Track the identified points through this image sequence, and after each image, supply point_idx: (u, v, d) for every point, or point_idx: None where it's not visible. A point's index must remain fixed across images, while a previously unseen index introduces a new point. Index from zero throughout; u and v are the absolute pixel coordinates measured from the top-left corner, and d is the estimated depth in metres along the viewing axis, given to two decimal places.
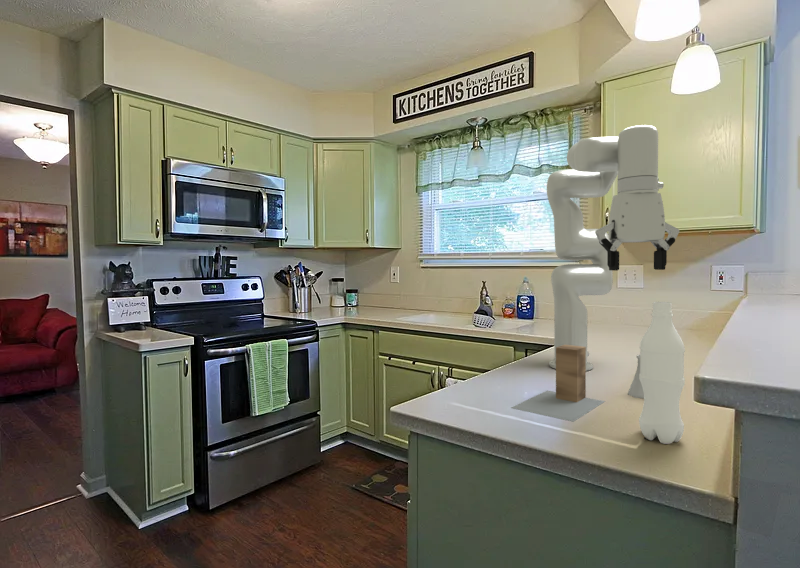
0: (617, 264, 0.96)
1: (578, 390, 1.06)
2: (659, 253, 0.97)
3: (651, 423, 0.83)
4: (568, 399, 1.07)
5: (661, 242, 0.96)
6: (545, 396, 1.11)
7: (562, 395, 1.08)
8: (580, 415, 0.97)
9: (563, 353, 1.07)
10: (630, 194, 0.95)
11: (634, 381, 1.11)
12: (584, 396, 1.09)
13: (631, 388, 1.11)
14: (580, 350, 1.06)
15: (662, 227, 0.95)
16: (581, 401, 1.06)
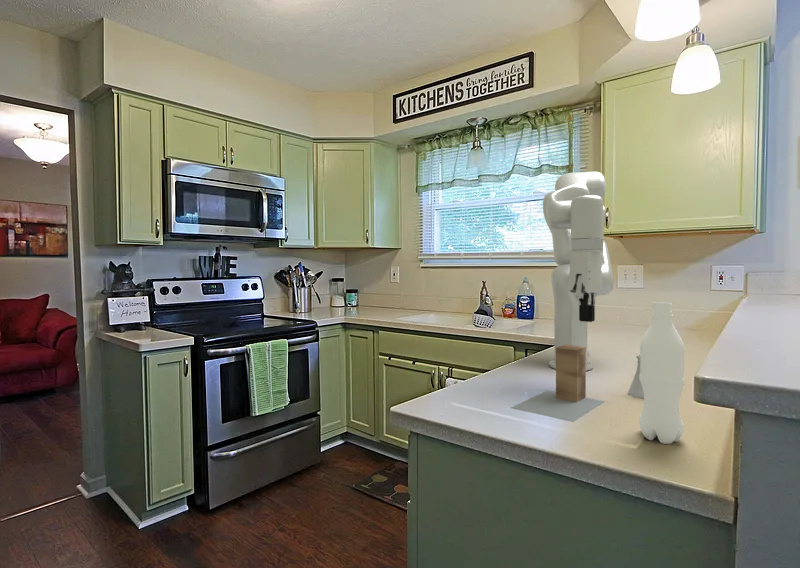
0: (592, 316, 1.13)
1: (578, 390, 1.06)
2: None
3: (651, 423, 0.83)
4: (568, 399, 1.07)
5: (594, 296, 1.15)
6: (545, 396, 1.11)
7: (562, 395, 1.08)
8: (580, 415, 0.97)
9: (563, 353, 1.07)
10: (592, 252, 1.11)
11: (634, 381, 1.11)
12: (584, 396, 1.09)
13: (631, 388, 1.11)
14: (580, 350, 1.06)
15: (601, 280, 1.16)
16: (581, 401, 1.06)
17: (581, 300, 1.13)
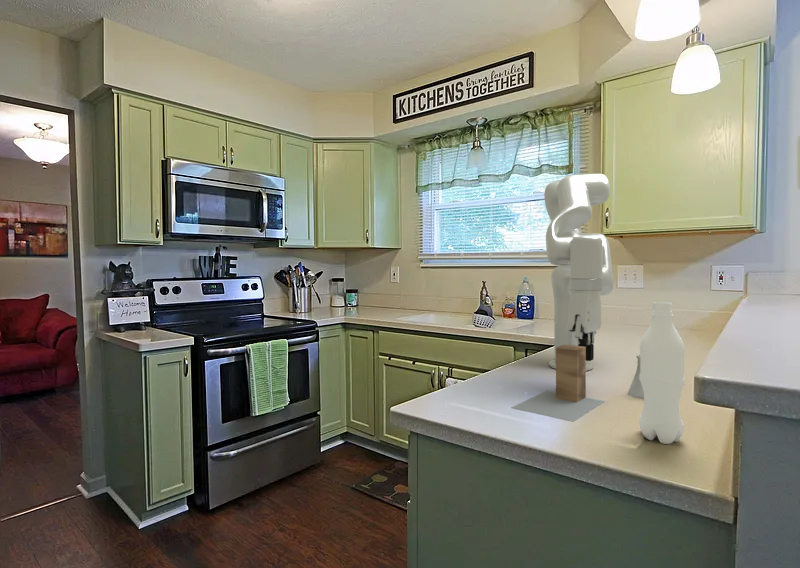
0: (591, 356, 1.14)
1: (578, 390, 1.06)
2: None
3: (651, 423, 0.83)
4: (568, 399, 1.07)
5: (593, 335, 1.15)
6: (545, 396, 1.11)
7: (562, 395, 1.08)
8: (580, 415, 0.97)
9: (563, 353, 1.07)
10: (591, 293, 1.11)
11: (634, 381, 1.11)
12: (584, 396, 1.09)
13: (631, 388, 1.11)
14: (580, 350, 1.06)
15: (600, 319, 1.16)
16: (581, 401, 1.06)
17: (580, 340, 1.13)
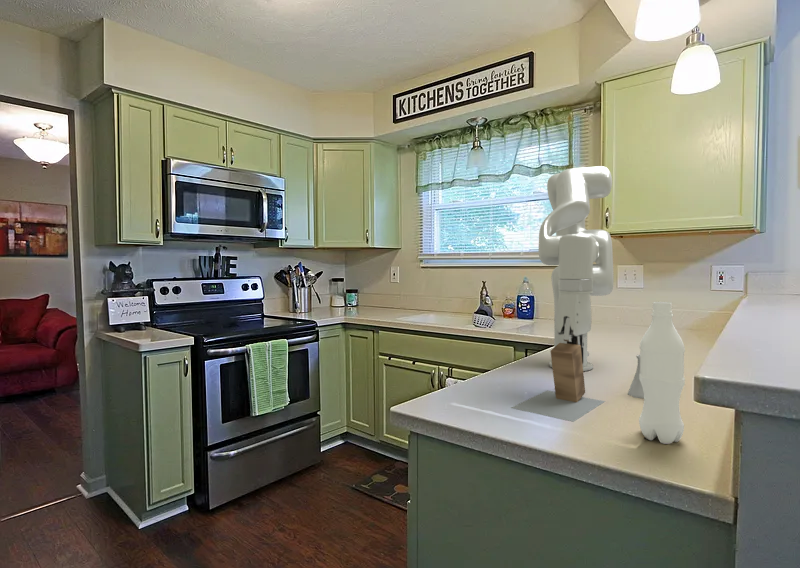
0: None
1: (577, 390, 1.06)
2: None
3: (651, 423, 0.83)
4: (568, 399, 1.07)
5: (583, 338, 1.10)
6: (545, 396, 1.11)
7: (562, 395, 1.08)
8: (580, 415, 0.97)
9: (558, 356, 1.05)
10: (580, 294, 1.06)
11: (634, 381, 1.11)
12: (584, 392, 1.09)
13: (631, 388, 1.11)
14: (575, 351, 1.04)
15: None
16: (581, 401, 1.06)
17: (569, 343, 1.09)
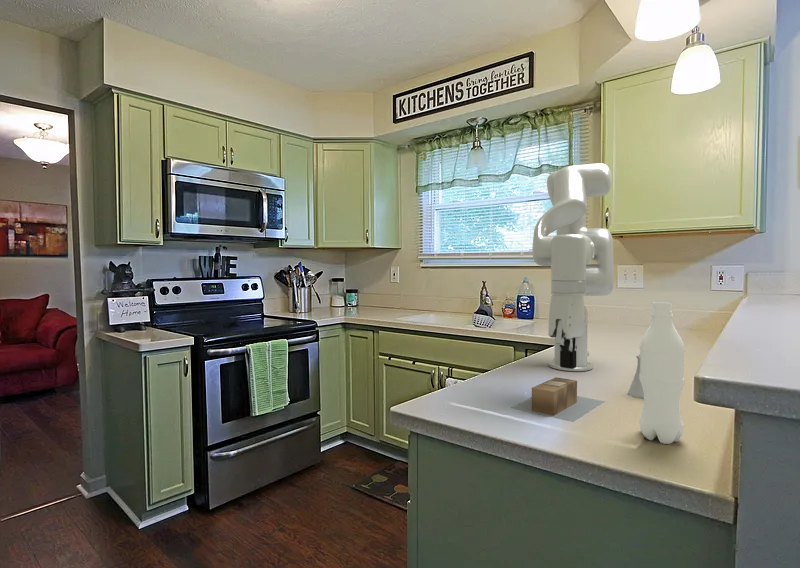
0: (574, 363, 1.06)
1: (572, 401, 1.04)
2: None
3: (651, 423, 0.83)
4: None
5: (576, 341, 1.07)
6: None
7: None
8: (580, 415, 0.97)
9: None
10: (573, 296, 1.03)
11: (634, 381, 1.11)
12: (576, 383, 1.05)
13: (631, 388, 1.11)
14: (554, 406, 0.97)
15: (584, 323, 1.09)
16: (581, 401, 1.06)
17: (562, 346, 1.06)
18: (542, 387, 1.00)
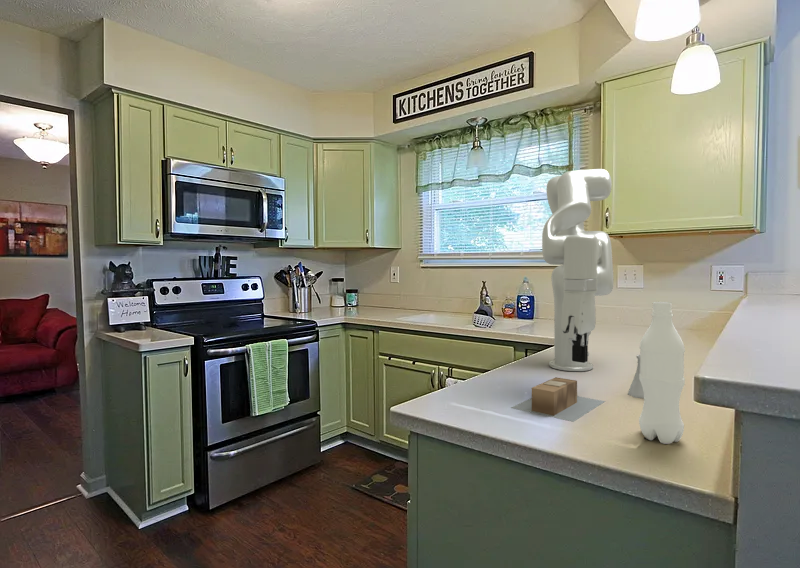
0: (585, 357, 1.12)
1: (572, 401, 1.04)
2: None
3: (651, 423, 0.83)
4: None
5: (587, 336, 1.13)
6: None
7: None
8: (580, 415, 0.97)
9: None
10: (585, 294, 1.09)
11: (634, 381, 1.11)
12: (576, 383, 1.05)
13: (631, 388, 1.11)
14: (554, 406, 0.97)
15: (595, 319, 1.14)
16: (581, 401, 1.06)
17: (574, 341, 1.11)
18: (542, 387, 1.00)
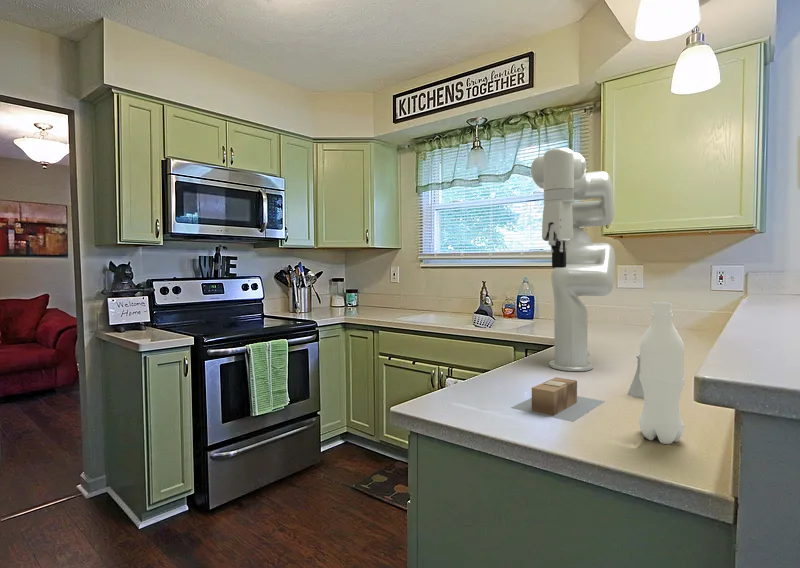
0: (564, 262, 1.22)
1: (572, 401, 1.04)
2: None
3: (651, 423, 0.83)
4: None
5: (565, 244, 1.23)
6: None
7: None
8: (580, 415, 0.97)
9: None
10: (563, 202, 1.19)
11: (634, 381, 1.11)
12: (576, 383, 1.05)
13: (631, 388, 1.11)
14: (554, 406, 0.97)
15: (572, 229, 1.24)
16: (581, 401, 1.06)
17: (553, 247, 1.21)
18: (542, 387, 1.00)
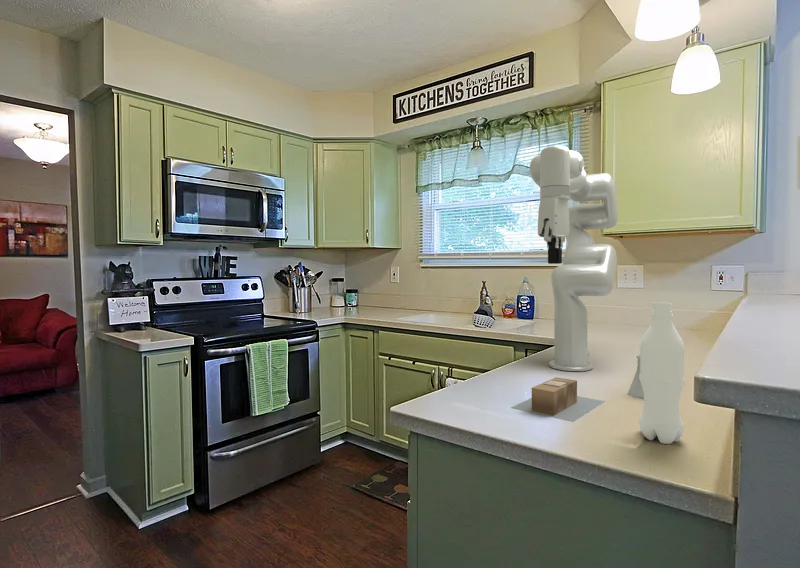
0: (559, 258, 1.23)
1: (572, 401, 1.04)
2: None
3: (651, 423, 0.83)
4: None
5: (561, 240, 1.24)
6: None
7: None
8: (580, 415, 0.97)
9: None
10: (558, 199, 1.20)
11: (634, 381, 1.11)
12: (576, 383, 1.05)
13: (631, 388, 1.11)
14: (554, 406, 0.97)
15: (569, 226, 1.25)
16: (581, 401, 1.06)
17: (549, 243, 1.22)
18: (542, 387, 1.00)
